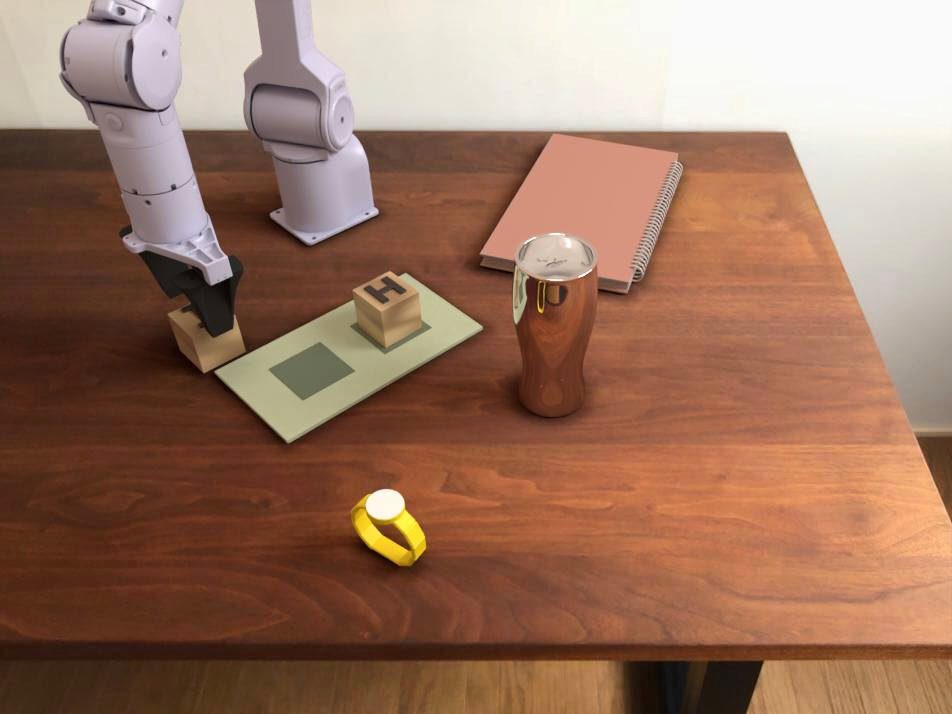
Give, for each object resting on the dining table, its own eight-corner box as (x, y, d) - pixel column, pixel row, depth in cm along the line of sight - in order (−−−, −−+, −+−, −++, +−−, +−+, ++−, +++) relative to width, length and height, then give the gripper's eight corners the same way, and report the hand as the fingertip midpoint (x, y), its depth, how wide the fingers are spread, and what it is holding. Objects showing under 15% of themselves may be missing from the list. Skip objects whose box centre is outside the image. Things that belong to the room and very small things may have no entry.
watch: (349, 548, 68) (337, 498, 64) (372, 523, 70) (362, 473, 65) (412, 583, 66) (404, 534, 61) (434, 557, 67) (428, 507, 63)
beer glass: (501, 379, 81) (498, 241, 71) (570, 360, 83) (577, 223, 73) (531, 430, 77) (532, 290, 66) (603, 408, 79) (616, 269, 68)
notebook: (637, 297, 90) (638, 281, 89) (480, 267, 94) (479, 251, 92) (685, 167, 109) (687, 152, 108) (553, 145, 112) (553, 131, 111)
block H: (394, 307, 88) (389, 268, 85) (422, 327, 86) (418, 289, 83) (358, 326, 86) (351, 288, 83) (385, 348, 84) (380, 309, 80)
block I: (222, 330, 86) (210, 291, 83) (246, 351, 84) (235, 313, 81) (180, 350, 84) (166, 312, 81) (203, 373, 82) (190, 335, 78)
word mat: (406, 275, 93) (405, 272, 92) (482, 329, 86) (482, 325, 86) (215, 374, 82) (213, 370, 81) (287, 444, 75) (286, 440, 75)
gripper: (67, 160, 73) (120, 294, 82) (152, 233, 65) (199, 371, 75) (149, 132, 76) (190, 263, 86) (238, 198, 69) (273, 334, 78)
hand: (199, 311), depth 80 cm, fingers open, 7 cm apart
